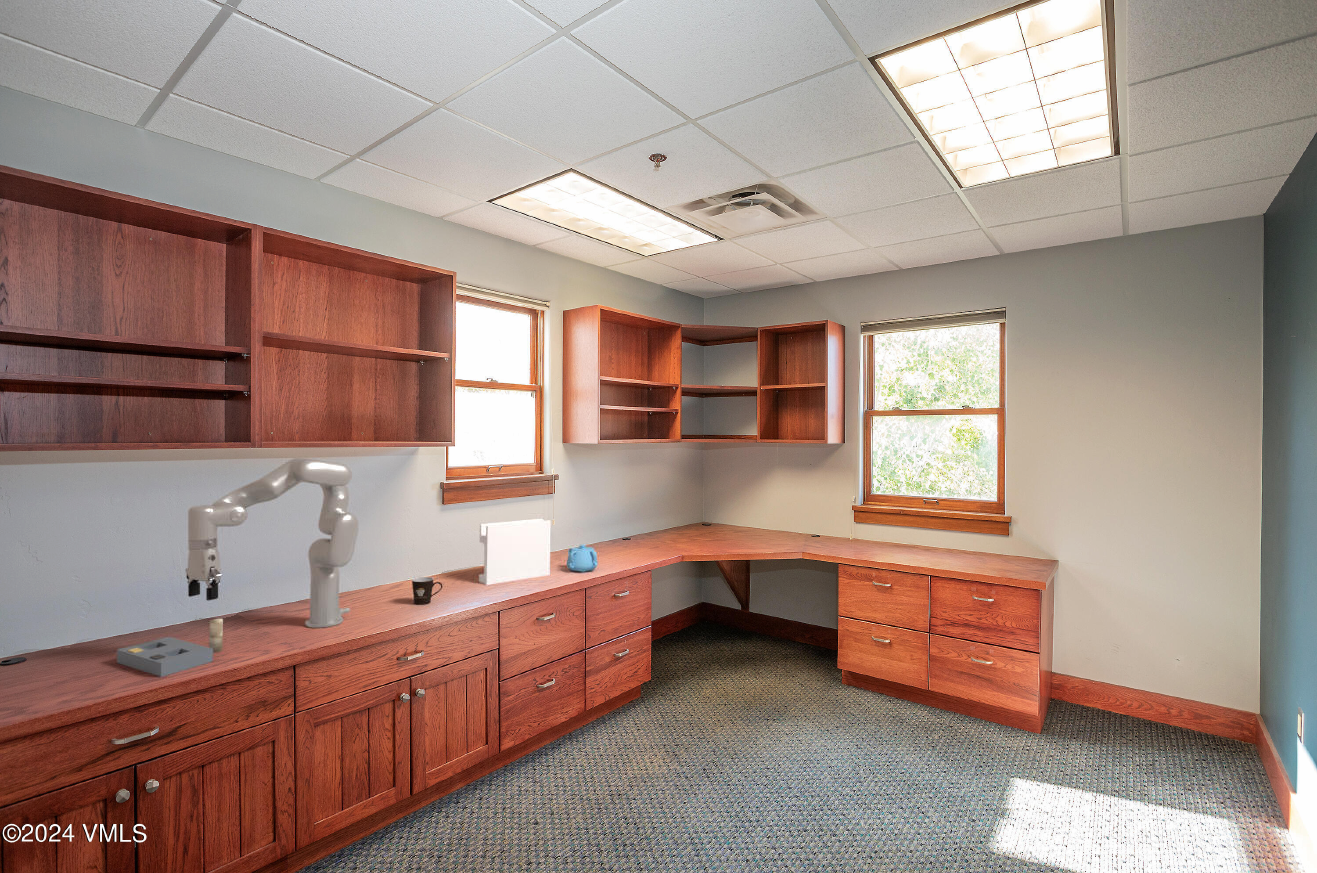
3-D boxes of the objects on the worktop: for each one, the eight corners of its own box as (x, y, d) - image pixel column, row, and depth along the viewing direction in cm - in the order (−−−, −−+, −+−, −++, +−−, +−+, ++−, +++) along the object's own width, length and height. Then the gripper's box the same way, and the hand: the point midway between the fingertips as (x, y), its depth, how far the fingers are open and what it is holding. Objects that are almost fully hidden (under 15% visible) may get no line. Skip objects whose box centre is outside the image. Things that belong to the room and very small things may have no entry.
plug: (218, 648, 206) (218, 617, 206) (224, 650, 205) (225, 619, 205) (206, 651, 203) (206, 620, 203) (213, 653, 202) (213, 622, 202)
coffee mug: (406, 604, 262) (407, 580, 262) (420, 599, 270) (421, 576, 270) (429, 607, 258) (430, 583, 258) (443, 602, 266) (443, 578, 266)
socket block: (168, 648, 205) (168, 635, 205) (212, 661, 195) (212, 647, 195) (116, 662, 192) (116, 648, 192) (161, 676, 182) (161, 662, 182)
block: (486, 585, 298) (487, 526, 297) (478, 581, 304) (479, 524, 303) (549, 574, 321) (550, 520, 321) (541, 572, 327) (542, 518, 327)
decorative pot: (597, 573, 326) (598, 547, 326) (566, 573, 324) (566, 547, 324) (597, 567, 342) (597, 542, 342) (567, 567, 340) (568, 542, 340)
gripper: (231, 544, 200) (231, 598, 201) (199, 540, 208) (200, 591, 208) (206, 549, 194) (206, 604, 194) (174, 544, 201) (174, 597, 201)
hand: (203, 597), depth 201 cm, fingers open, 9 cm apart
